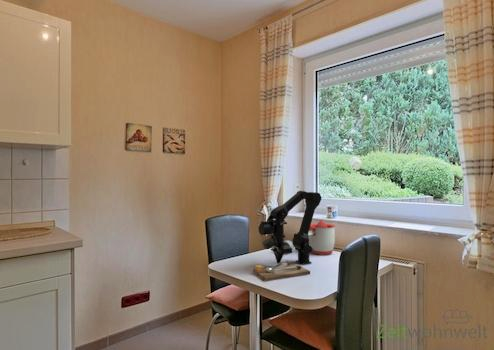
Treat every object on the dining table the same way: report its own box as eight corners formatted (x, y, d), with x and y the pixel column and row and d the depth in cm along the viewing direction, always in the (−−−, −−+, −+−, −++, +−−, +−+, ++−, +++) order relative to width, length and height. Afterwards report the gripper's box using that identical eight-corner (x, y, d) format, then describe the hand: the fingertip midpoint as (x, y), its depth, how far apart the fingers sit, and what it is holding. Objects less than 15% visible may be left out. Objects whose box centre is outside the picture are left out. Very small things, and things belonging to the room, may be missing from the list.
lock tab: (255, 269, 151) (255, 265, 151) (260, 268, 151) (260, 264, 151) (258, 271, 148) (258, 267, 148) (262, 270, 149) (262, 266, 149)
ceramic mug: (294, 251, 191) (294, 239, 191) (290, 255, 184) (290, 242, 184) (278, 250, 196) (278, 238, 196) (273, 253, 188) (273, 240, 188)
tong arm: (265, 272, 147) (265, 268, 147) (286, 264, 159) (286, 260, 159) (269, 273, 145) (269, 269, 145) (289, 265, 158) (289, 261, 158)
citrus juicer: (301, 251, 191) (301, 219, 191) (323, 248, 199) (323, 217, 199) (317, 257, 177) (317, 223, 177) (340, 254, 184) (340, 221, 184)
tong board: (252, 272, 152) (252, 265, 152) (294, 266, 161) (294, 260, 161) (265, 281, 139) (265, 274, 139) (310, 274, 148) (310, 267, 148)
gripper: (256, 231, 165) (256, 260, 165) (272, 237, 148) (272, 270, 148) (275, 229, 170) (275, 258, 170) (292, 235, 152) (292, 267, 152)
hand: (278, 263), depth 160 cm, fingers closed
